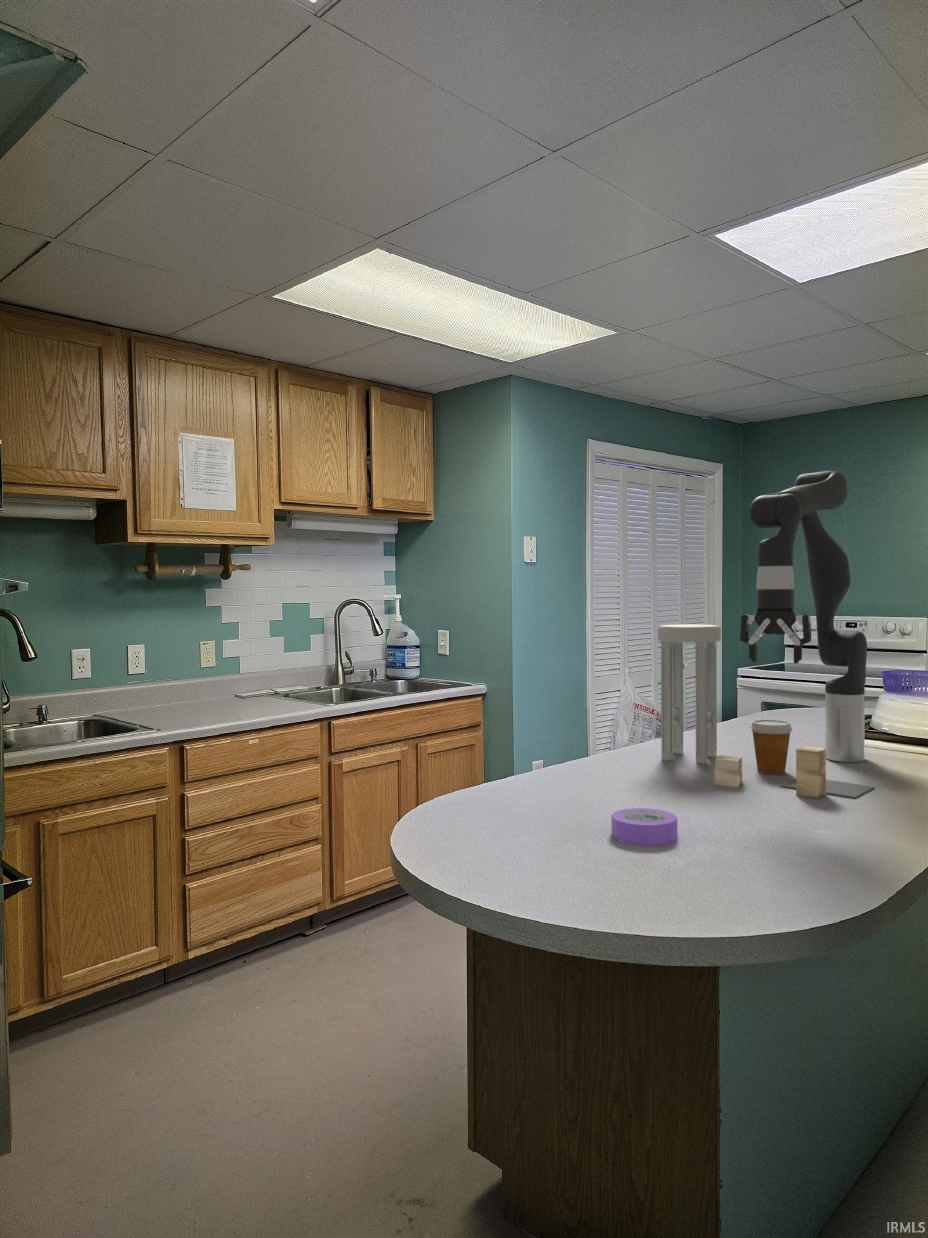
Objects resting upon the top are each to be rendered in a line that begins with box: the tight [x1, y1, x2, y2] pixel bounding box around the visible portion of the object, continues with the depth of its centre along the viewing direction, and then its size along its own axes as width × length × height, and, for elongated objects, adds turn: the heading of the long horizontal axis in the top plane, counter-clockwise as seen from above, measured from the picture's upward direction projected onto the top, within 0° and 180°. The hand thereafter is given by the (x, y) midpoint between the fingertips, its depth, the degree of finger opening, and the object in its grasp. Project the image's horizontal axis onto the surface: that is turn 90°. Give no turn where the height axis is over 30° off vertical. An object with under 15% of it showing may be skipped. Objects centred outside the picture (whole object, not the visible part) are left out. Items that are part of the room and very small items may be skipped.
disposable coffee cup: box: [750, 719, 793, 775], centre depth 198 cm, size 10×10×12 cm
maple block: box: [714, 754, 743, 788], centre depth 187 cm, size 5×5×6 cm
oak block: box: [795, 745, 827, 800], centre depth 175 cm, size 4×4×10 cm
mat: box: [779, 778, 875, 800], centre depth 182 cm, size 12×16×1 cm
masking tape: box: [611, 807, 678, 846], centre depth 148 cm, size 12×12×4 cm
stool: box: [657, 623, 722, 765], centre depth 215 cm, size 16×16×35 cm
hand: (775, 662), depth 177 cm, fingers open, 8 cm apart
